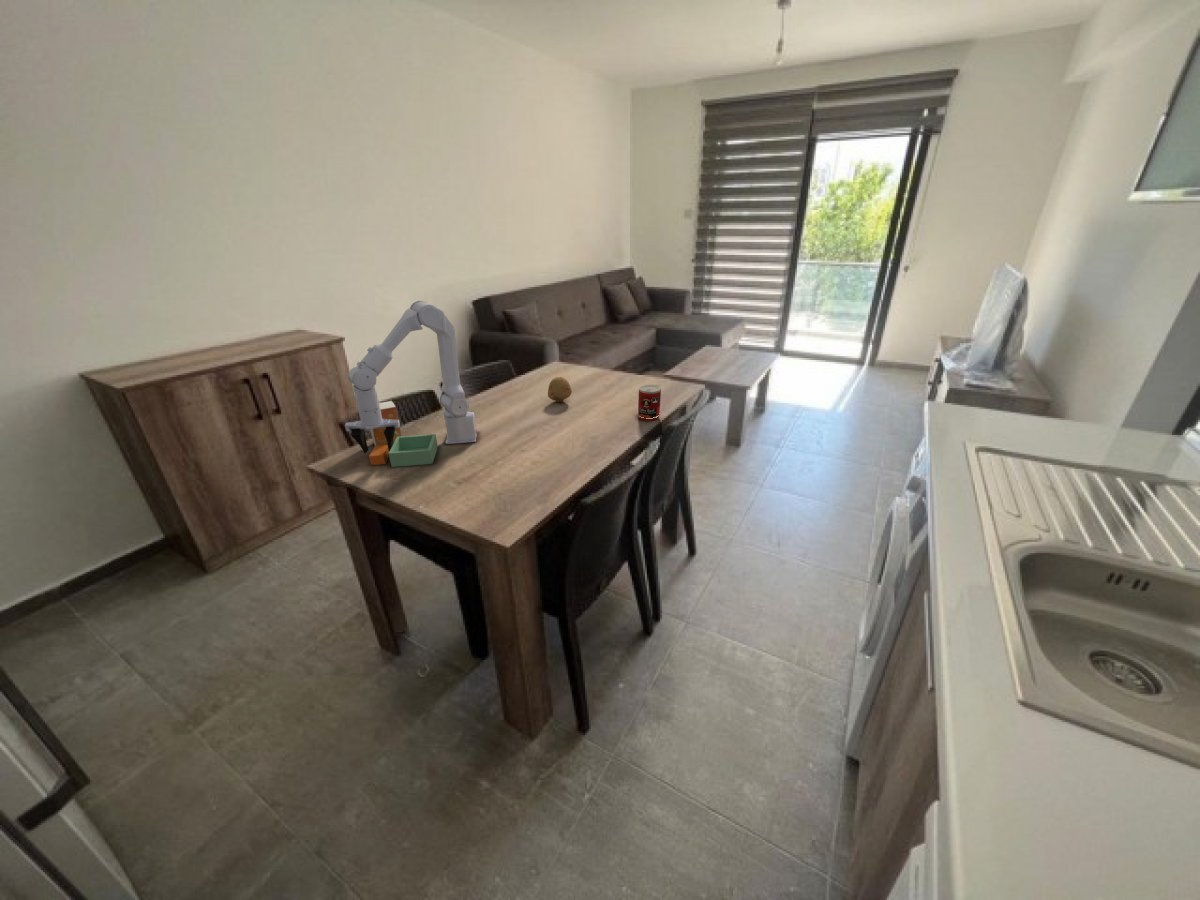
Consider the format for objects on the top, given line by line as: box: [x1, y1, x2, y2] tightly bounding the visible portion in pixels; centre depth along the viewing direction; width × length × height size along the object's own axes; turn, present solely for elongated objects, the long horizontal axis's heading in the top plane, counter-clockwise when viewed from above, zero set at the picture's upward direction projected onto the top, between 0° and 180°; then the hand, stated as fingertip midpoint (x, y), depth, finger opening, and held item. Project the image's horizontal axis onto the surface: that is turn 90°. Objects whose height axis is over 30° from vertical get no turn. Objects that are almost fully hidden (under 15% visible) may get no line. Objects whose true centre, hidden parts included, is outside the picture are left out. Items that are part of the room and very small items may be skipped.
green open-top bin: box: [388, 433, 439, 468], centre depth 145 cm, size 12×12×4 cm
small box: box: [370, 400, 403, 447], centre depth 151 cm, size 8×6×13 cm
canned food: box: [637, 384, 662, 422], centre depth 171 cm, size 8×8×11 cm
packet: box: [368, 445, 390, 466], centre depth 144 cm, size 4×7×3 cm, turn 10°
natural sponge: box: [547, 376, 573, 403], centre depth 185 cm, size 9×9×10 cm
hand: (378, 450), depth 143 cm, fingers open, 6 cm apart
